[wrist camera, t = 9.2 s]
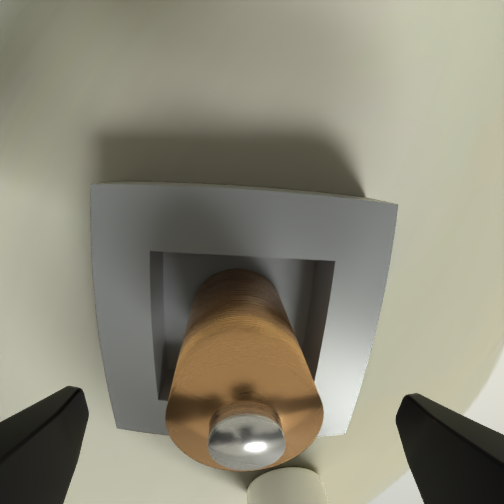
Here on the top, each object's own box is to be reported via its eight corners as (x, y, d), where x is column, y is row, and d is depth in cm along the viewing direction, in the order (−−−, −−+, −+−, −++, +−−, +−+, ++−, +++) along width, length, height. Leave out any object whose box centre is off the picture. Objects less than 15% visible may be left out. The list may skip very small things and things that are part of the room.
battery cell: (191, 347, 14) (168, 487, 7) (192, 265, 14) (152, 378, 6) (277, 351, 15) (313, 488, 7) (286, 270, 14) (349, 382, 6)
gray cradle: (130, 392, 16) (116, 428, 13) (118, 181, 13) (90, 184, 10) (329, 398, 16) (345, 434, 14) (366, 197, 14) (397, 204, 11)
